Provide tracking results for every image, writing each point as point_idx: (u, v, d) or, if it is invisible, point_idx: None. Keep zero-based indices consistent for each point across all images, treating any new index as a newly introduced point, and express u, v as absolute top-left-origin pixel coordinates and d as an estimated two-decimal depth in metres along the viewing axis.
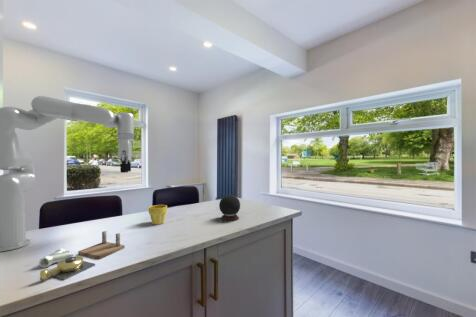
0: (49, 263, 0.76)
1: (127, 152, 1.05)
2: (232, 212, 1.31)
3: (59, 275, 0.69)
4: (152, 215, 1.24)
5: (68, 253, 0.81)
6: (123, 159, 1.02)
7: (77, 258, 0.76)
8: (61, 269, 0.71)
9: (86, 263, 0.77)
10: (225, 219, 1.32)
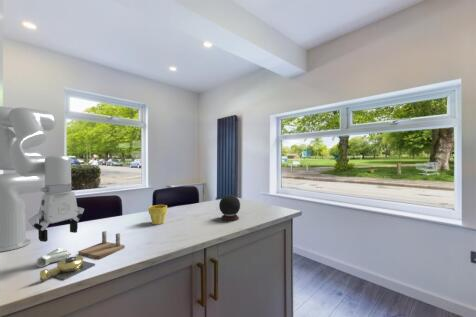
0: (46, 262, 0.77)
1: None
2: (232, 212, 1.31)
3: (59, 275, 0.69)
4: (152, 215, 1.24)
5: (65, 253, 0.82)
6: None
7: (77, 258, 0.76)
8: (61, 269, 0.71)
9: (86, 263, 0.77)
10: (225, 219, 1.32)
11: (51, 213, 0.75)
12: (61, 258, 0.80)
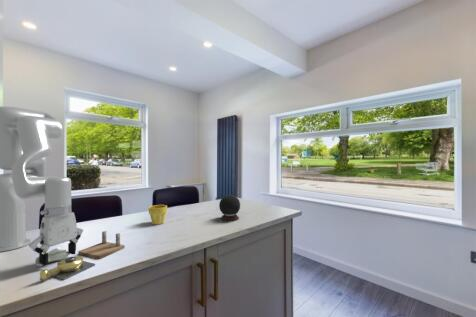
0: None
1: None
2: (232, 212, 1.31)
3: (59, 275, 0.69)
4: (152, 215, 1.24)
5: (64, 252, 0.82)
6: None
7: (77, 258, 0.76)
8: (61, 269, 0.71)
9: (86, 263, 0.77)
10: (225, 219, 1.32)
11: (51, 236, 0.75)
12: (60, 257, 0.80)
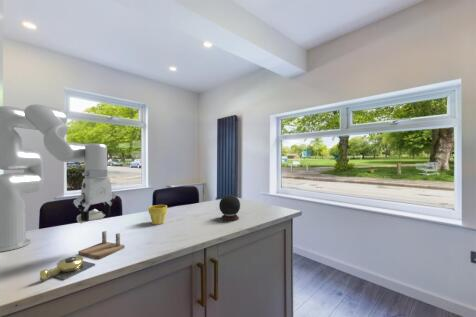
0: None
1: None
2: (232, 212, 1.31)
3: (59, 275, 0.69)
4: (152, 215, 1.24)
5: (101, 213, 0.89)
6: None
7: (77, 258, 0.76)
8: (61, 269, 0.71)
9: (86, 263, 0.77)
10: (225, 219, 1.32)
11: (91, 195, 0.83)
12: (97, 217, 0.88)
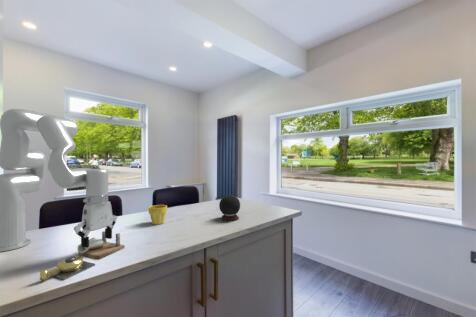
0: (86, 249, 0.84)
1: None
2: (232, 212, 1.31)
3: (59, 275, 0.69)
4: (152, 215, 1.24)
5: (101, 241, 0.89)
6: None
7: (77, 258, 0.76)
8: (61, 269, 0.71)
9: (86, 263, 0.77)
10: (225, 219, 1.32)
11: (92, 222, 0.83)
12: (98, 246, 0.88)
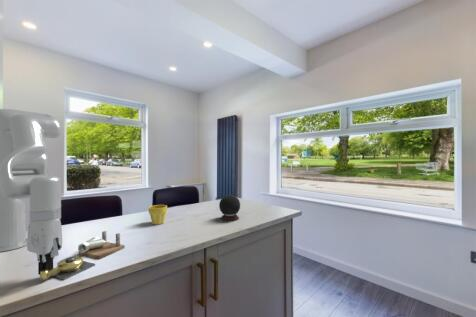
0: (86, 249, 0.85)
1: (60, 239, 0.69)
2: (232, 212, 1.31)
3: (59, 275, 0.69)
4: (152, 215, 1.24)
5: (102, 241, 0.90)
6: (52, 256, 0.68)
7: (77, 258, 0.76)
8: (61, 269, 0.71)
9: (86, 263, 0.77)
10: (225, 219, 1.32)
11: (28, 240, 0.68)
12: (98, 245, 0.88)
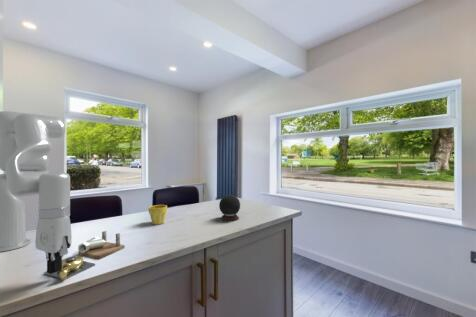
0: (86, 249, 0.85)
1: (69, 237, 0.68)
2: (232, 212, 1.31)
3: (59, 275, 0.69)
4: (152, 215, 1.24)
5: (102, 241, 0.90)
6: None
7: None
8: (71, 268, 0.72)
9: (86, 263, 0.77)
10: (225, 219, 1.32)
11: (36, 238, 0.67)
12: (98, 245, 0.88)
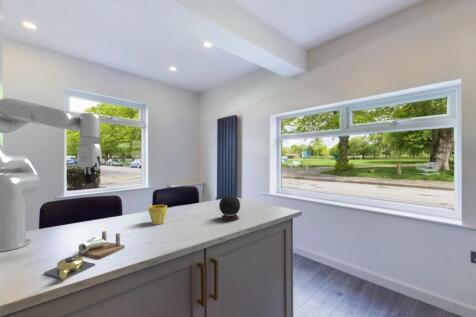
0: (87, 248, 0.85)
1: (100, 158, 0.96)
2: (232, 212, 1.31)
3: (59, 275, 0.69)
4: (152, 215, 1.24)
5: (102, 240, 0.90)
6: (95, 170, 0.96)
7: None
8: (71, 268, 0.72)
9: (86, 263, 0.77)
10: (225, 219, 1.32)
11: (78, 159, 0.96)
12: (99, 245, 0.88)
